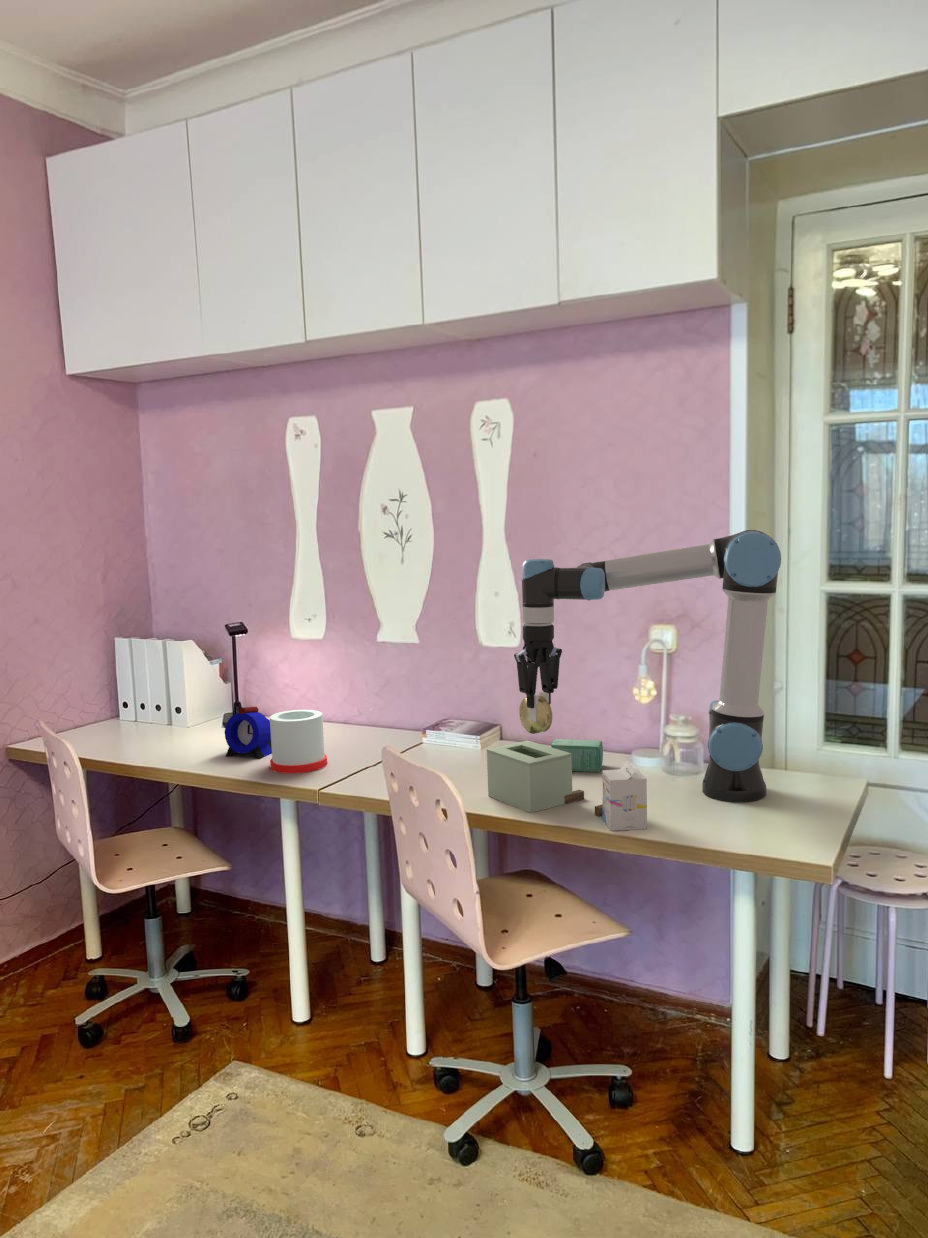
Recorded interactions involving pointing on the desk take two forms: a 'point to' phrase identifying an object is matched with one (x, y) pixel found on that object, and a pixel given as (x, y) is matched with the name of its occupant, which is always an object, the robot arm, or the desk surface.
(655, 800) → the desk surface
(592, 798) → the desk surface
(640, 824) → the ink box
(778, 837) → the desk surface
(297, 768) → the container
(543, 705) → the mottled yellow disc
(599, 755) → the box
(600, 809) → the cradle
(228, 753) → the alarm clock
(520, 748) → the box
